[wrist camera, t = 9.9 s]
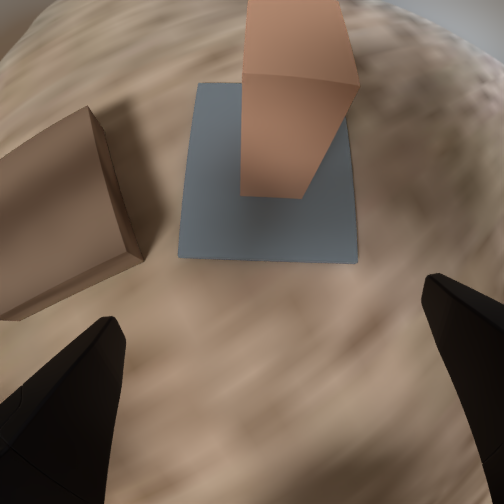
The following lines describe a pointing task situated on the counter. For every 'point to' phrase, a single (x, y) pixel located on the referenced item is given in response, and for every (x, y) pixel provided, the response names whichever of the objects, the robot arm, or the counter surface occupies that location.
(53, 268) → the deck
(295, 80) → the tall peach block
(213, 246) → the mat
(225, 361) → the counter surface
